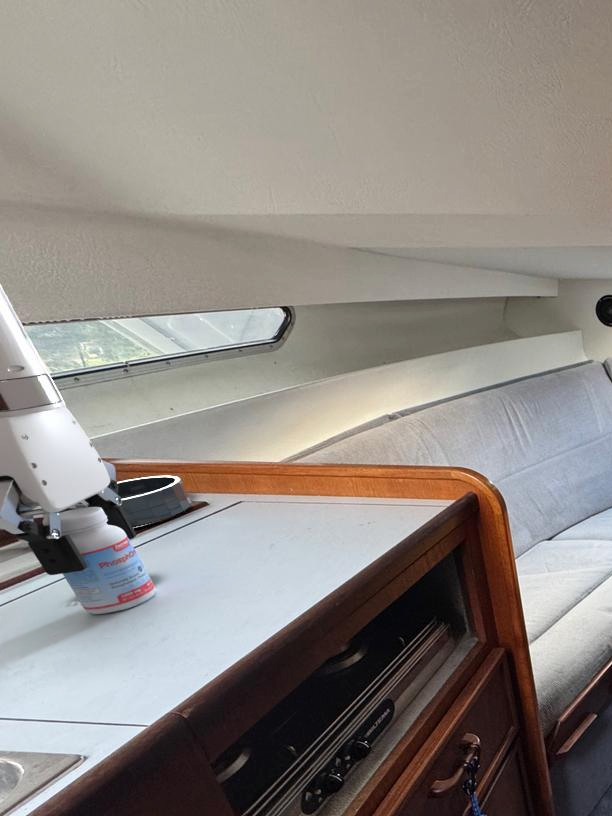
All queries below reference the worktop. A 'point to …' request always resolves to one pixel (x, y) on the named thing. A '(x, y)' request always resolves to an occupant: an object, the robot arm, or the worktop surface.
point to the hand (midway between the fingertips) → (95, 554)
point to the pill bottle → (104, 563)
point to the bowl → (150, 499)
